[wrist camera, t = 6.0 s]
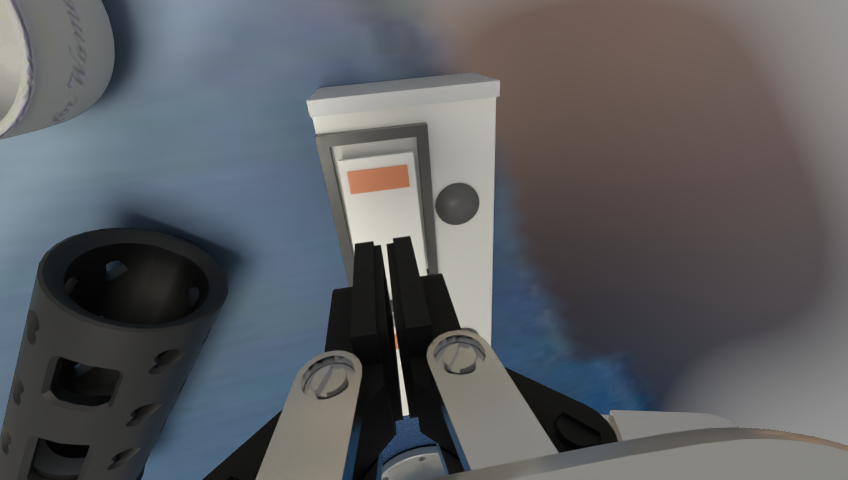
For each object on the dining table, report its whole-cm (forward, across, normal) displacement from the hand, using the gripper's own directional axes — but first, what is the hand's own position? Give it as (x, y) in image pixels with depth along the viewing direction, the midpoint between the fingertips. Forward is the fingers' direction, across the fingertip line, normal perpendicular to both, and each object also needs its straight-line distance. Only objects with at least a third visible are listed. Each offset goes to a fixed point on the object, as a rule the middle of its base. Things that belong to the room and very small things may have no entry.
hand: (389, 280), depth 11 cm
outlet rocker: (+11, 0, +3) cm, 11 cm away
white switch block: (+16, -2, +9) cm, 18 cm away
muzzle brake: (+17, +23, +15) cm, 32 cm away
